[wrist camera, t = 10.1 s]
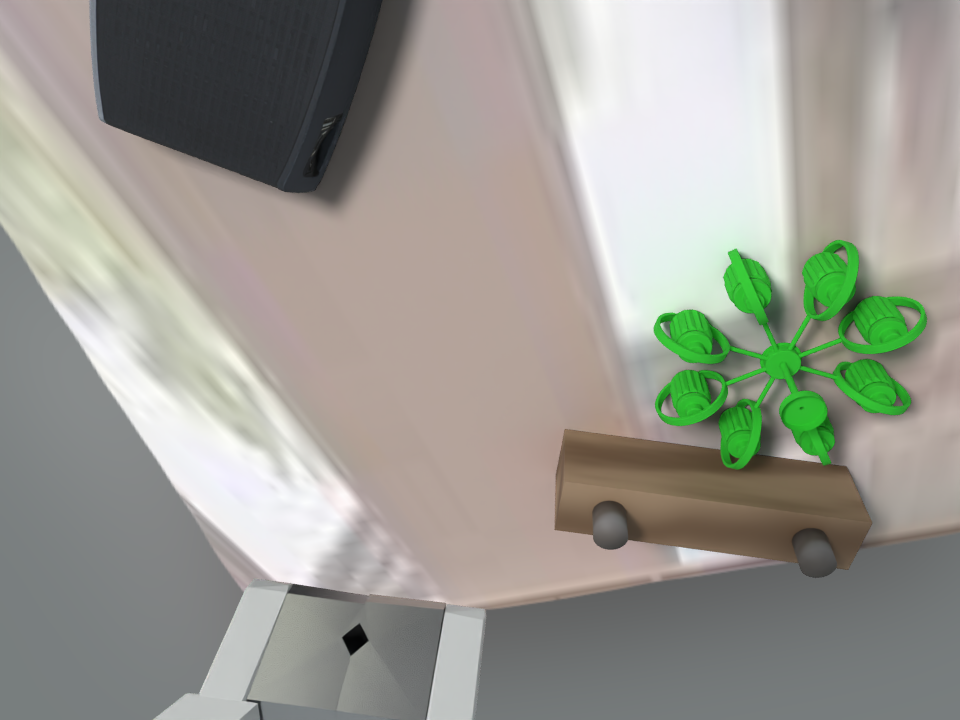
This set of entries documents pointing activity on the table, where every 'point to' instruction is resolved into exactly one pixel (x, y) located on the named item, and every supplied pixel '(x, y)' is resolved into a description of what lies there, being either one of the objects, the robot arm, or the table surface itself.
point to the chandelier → (788, 356)
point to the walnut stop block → (708, 501)
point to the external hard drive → (234, 78)
